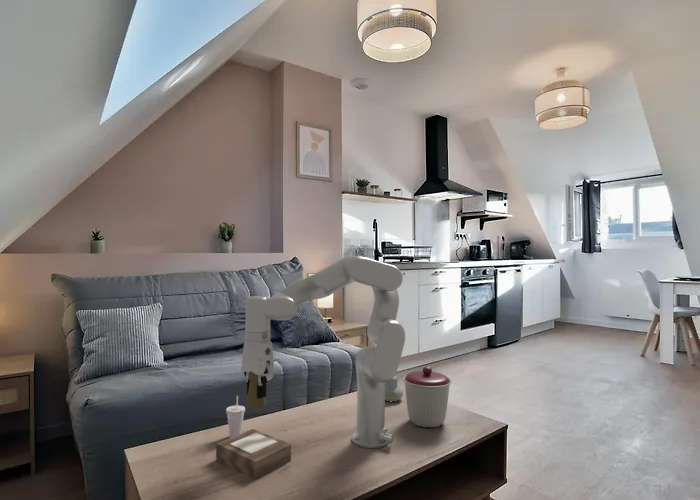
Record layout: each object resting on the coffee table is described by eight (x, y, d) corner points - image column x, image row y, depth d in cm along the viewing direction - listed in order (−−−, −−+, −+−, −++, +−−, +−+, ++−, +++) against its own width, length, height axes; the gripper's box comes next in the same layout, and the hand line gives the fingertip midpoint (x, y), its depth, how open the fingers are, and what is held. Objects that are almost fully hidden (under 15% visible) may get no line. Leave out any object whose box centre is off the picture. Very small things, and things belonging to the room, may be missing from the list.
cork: (256, 409, 125) (256, 372, 125) (241, 405, 128) (242, 369, 128) (270, 403, 130) (271, 368, 130) (256, 399, 133) (257, 365, 133)
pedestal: (290, 460, 128) (291, 442, 128) (255, 479, 117) (255, 460, 117) (252, 444, 139) (252, 427, 139) (216, 460, 128) (216, 442, 128)
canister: (393, 423, 158) (393, 367, 158) (418, 410, 172) (419, 358, 172) (436, 437, 146) (436, 376, 146) (459, 422, 160) (460, 366, 160)
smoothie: (239, 441, 140) (240, 399, 141) (221, 439, 142) (222, 398, 142) (247, 433, 147) (248, 393, 147) (231, 431, 148) (231, 392, 148)
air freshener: (403, 397, 186) (404, 375, 186) (401, 404, 178) (402, 380, 178) (379, 395, 189) (379, 373, 189) (376, 401, 181) (376, 378, 181)
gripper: (285, 338, 127) (284, 398, 127) (249, 331, 137) (248, 387, 137) (266, 342, 121) (264, 405, 121) (230, 334, 131) (229, 393, 131)
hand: (256, 395), depth 129 cm, fingers closed on cork, 4 cm apart
